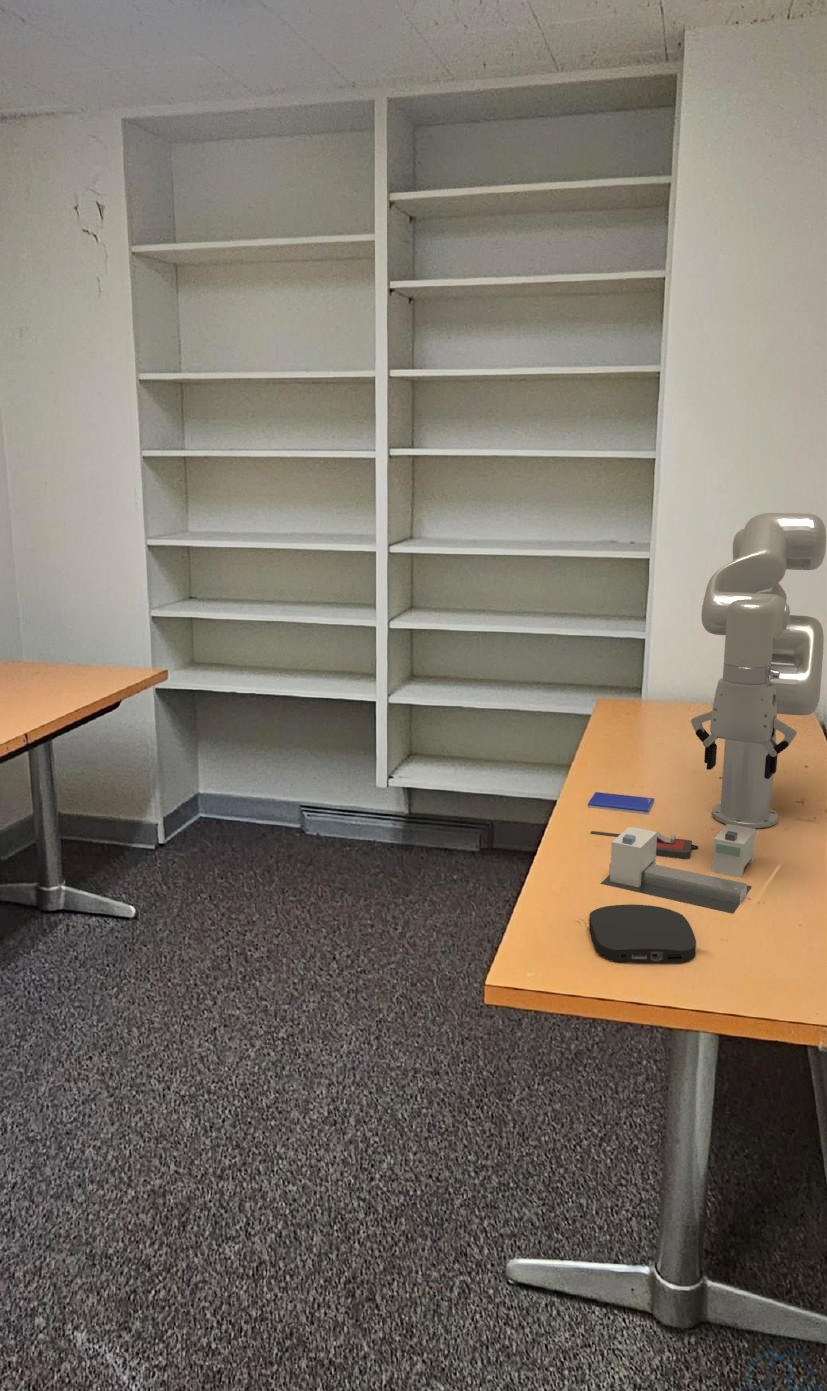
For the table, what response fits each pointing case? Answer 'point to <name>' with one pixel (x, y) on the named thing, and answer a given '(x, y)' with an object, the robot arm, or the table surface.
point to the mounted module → (632, 855)
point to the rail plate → (678, 896)
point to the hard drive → (621, 803)
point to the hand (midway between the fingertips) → (739, 772)
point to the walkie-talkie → (666, 845)
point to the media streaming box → (641, 934)
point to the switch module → (733, 850)
